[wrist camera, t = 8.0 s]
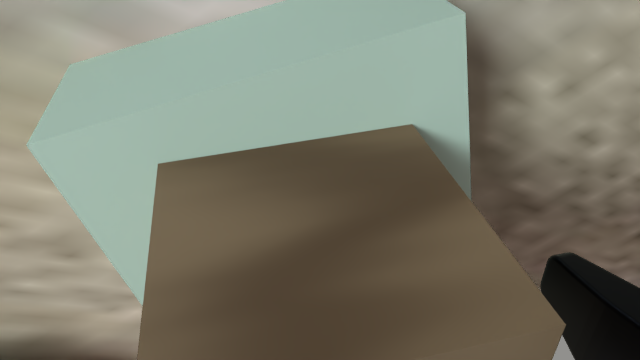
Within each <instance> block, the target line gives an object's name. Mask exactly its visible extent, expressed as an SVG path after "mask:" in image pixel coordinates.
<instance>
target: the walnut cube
mask: <svg viewBox="0 0 640 360" xmlns="http://www.w3.org/2000/svg"><path fill="white" fill-rule="evenodd" d="M565 326H566V324H565V323H564V322H563V320H562V319H561V318H560V316H559V315H558V314H557V312H556V311H555V310H554V309H553V307H552V306H551V305H550V303H549V302H548V301H547V299H546V298H545V297H544V296H543V294H542V293H541V292H540V290H539V289H538V288H537V286H536V285H535V284H534V282H533V281H532V280H531V279H530V277H529V276H528V275H527V273H526V272H525V271H524V269H523V268H522V267H521V265H520V264H519V263H518V262H517V260H516V259H515V258H514V256H513V255H512V254H511V252H510V251H509V250H508V249H507V247H506V246H505V245H504V243H503V242H502V241H501V239H500V238H499V237H498V235H497V234H496V233H495V232H494V230H493V229H492V228H491V226H490V225H489V224H488V222H487V221H486V220H485V218H484V217H483V216H482V215H481V213H480V212H479V211H478V209H477V208H476V207H475V205H474V204H473V203H472V202H471V200H470V199H469V198H468V196H467V195H466V194H465V192H464V191H463V190H462V188H461V187H460V186H459V185H458V183H457V182H456V181H455V179H454V178H453V177H452V175H451V174H450V173H449V172H448V170H447V169H446V168H445V166H444V165H443V164H442V162H441V161H440V160H439V158H438V157H437V156H436V155H435V153H434V152H433V151H432V149H431V148H430V147H429V145H428V144H427V143H426V141H425V140H424V139H423V138H422V136H421V135H420V134H419V132H418V131H417V130H416V128H415V127H414V126H413V125H412V124H410V125H403V126H397V127H390V128H384V129H377V130H371V131H365V132H358V133H352V134H345V135H339V136H332V137H326V138H320V139H313V140H307V141H300V142H294V143H287V144H281V145H275V146H268V147H262V148H255V149H249V150H242V151H236V152H230V153H223V154H217V155H210V156H204V157H197V158H191V159H185V160H178V161H172V162H165V163H159V164H158V167H157V177H156V186H155V196H154V205H153V214H152V224H151V233H150V243H149V252H148V261H147V271H146V280H145V290H144V299H143V308H142V318H141V327H140V337H139V346H138V355H137V360H552V358H553V356H554V353H555V351H556V348H557V346H558V343H559V341H560V338H561V336H562V333H563V331H564V328H565Z"/></svg>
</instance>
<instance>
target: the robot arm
mask: <svg viewBox="0 0 640 360" xmlns="http://www.w3.org/2000/svg"><path fill="white" fill-rule="evenodd" d="M541 292H542V294H543V296H544V297H545V298H546V299H547V301H548V302H549V303H550V305H551V306H552V307H553V309H554V310H555V311H556V312H557V314H558V315H559V316H560V318H561V319H562V320H563V322H564V323H565V324H566V326H565V328H564V331H563V333H562V335H563V337H564V339H565V341H566V343H567V345H568V347H569V349H570V351H571V353H572V355H573V357H574V359H575V360H640V288H639V287H637V286H635V285H633V284H631V283H629V282H627V281H625V280H624V279H622V278H620V277H618V276H616V275H614V274H612V273H610V272H608V271H606V270H605V269H603V268H601V267H599V266H597V265H595V264H593V263H591V262H589V261H587V260H586V259H584V258H582V257H580V256H578V255H576V254H574V253H562V254H558V255H553V256H551V257H550V258H549V259H548V261H547V264H546V268H545V271H544V274H543V277H542V281H541Z"/></svg>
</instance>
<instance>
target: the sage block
mask: <svg viewBox="0 0 640 360" xmlns="http://www.w3.org/2000/svg"><path fill="white" fill-rule="evenodd" d="M410 124H412V125H413V126H414V127H415V128H416V130H417V131H418V132H419V134H420V135H421V136H422V138H423V139H424V140H425V141H426V143H427V144H428V145H429V147H430V148H431V149H432V151H433V152H434V153H435V155H436V156H437V157H438V158H439V160H440V161H441V162H442V164H443V165H444V166H445V168H446V169H447V170H448V172H449V173H450V174H451V175H452V177H453V178H454V179H455V181H456V182H457V183H458V185H459V186H460V187H461V188H462V190H463V191H464V192H465V194H466V195H467V196H468V198H469V199H470V200H471V170H470V139H469V107H468V76H467V45H466V14H465V12H464V11H462V10H461V9H459V8H457V7H456V6H454V5H453V4H451V3H450V2H448V1H447V0H286V1H282V2H279V3H275V4H272V5H269V6H265V7H262V8H259V9H255V10H252V11H249V12H245V13H242V14H238V15H235V16H232V17H228V18H225V19H222V20H218V21H215V22H211V23H208V24H205V25H201V26H198V27H195V28H191V29H188V30H185V31H181V32H178V33H174V34H171V35H168V36H164V37H161V38H158V39H154V40H151V41H148V42H144V43H141V44H137V45H134V46H131V47H127V48H124V49H121V50H117V51H114V52H110V53H107V54H104V55H100V56H97V57H94V58H90V59H87V60H84V61H80V62H77V63H73V64H70V66H69V67H68V69H67V71H66V73H65V75H64V77H63V79H62V80H61V82H60V84H59V86H58V88H57V90H56V91H55V93H54V95H53V97H52V99H51V101H50V103H49V104H48V106H47V108H46V110H45V112H44V114H43V115H42V117H41V119H40V121H39V123H38V125H37V127H36V128H35V130H34V132H33V134H32V136H31V138H30V139H29V141H28V143H27V145H26V146H27V147H28V148H29V150H30V151H31V153H32V154H33V155H34V157H35V158H36V159H37V161H38V162H39V164H40V165H41V166H42V168H43V169H44V170H45V172H46V173H47V175H48V176H49V177H50V179H51V180H52V182H53V183H54V184H55V186H56V187H57V188H58V190H59V191H60V193H61V194H62V195H63V197H64V198H65V200H66V201H67V202H68V204H69V205H70V206H71V208H72V209H73V211H74V212H75V213H76V215H77V216H78V217H79V219H80V220H81V222H82V223H83V224H84V226H85V227H86V229H87V230H88V231H89V233H90V234H91V235H92V237H93V238H94V240H95V241H96V242H97V244H98V245H99V247H100V248H101V249H102V251H103V252H104V253H105V255H106V256H107V258H108V259H109V260H110V262H111V263H112V264H113V266H114V267H115V269H116V270H117V271H118V273H119V274H120V276H121V277H122V278H123V280H124V281H125V282H126V284H127V285H128V287H129V288H130V289H131V291H132V292H133V293H134V295H135V296H136V298H137V299H138V300H139V302H140V303H141V305H142V306H143V299H144V290H145V280H146V271H147V261H148V252H149V243H150V233H151V224H152V214H153V205H154V196H155V186H156V177H157V167H158V164H159V163H165V162H172V161H178V160H185V159H191V158H197V157H204V156H210V155H217V154H223V153H230V152H236V151H242V150H249V149H255V148H262V147H268V146H275V145H281V144H287V143H294V142H300V141H307V140H313V139H320V138H326V137H332V136H339V135H345V134H352V133H358V132H365V131H371V130H377V129H384V128H390V127H397V126H403V125H410ZM471 202H472V201H471Z"/></svg>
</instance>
